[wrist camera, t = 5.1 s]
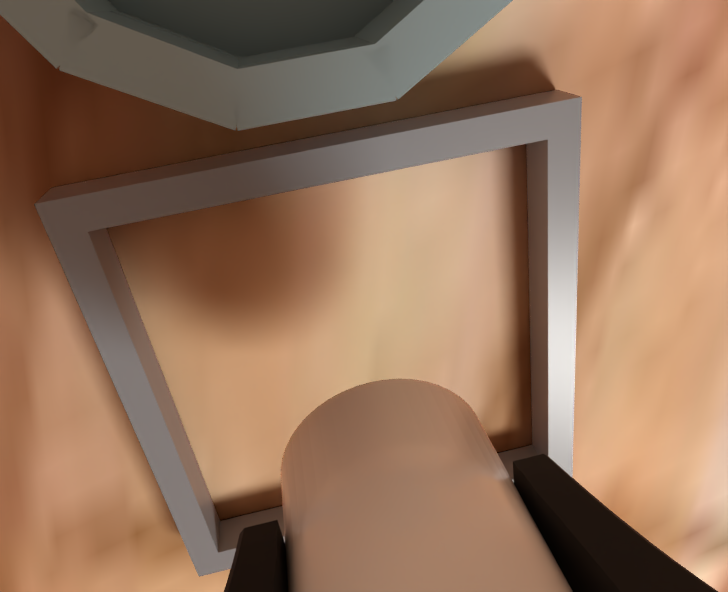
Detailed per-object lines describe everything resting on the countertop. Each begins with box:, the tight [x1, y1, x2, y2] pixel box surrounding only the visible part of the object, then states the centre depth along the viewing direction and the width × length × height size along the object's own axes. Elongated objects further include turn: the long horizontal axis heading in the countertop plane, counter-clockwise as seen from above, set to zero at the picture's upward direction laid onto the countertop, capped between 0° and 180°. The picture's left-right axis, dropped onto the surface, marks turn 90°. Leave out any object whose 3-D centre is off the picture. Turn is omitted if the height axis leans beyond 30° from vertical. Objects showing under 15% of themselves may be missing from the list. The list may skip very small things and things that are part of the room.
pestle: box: [281, 379, 573, 592], centre depth 10 cm, size 4×4×6 cm
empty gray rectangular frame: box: [34, 90, 582, 577], centre depth 16 cm, size 12×12×1 cm
